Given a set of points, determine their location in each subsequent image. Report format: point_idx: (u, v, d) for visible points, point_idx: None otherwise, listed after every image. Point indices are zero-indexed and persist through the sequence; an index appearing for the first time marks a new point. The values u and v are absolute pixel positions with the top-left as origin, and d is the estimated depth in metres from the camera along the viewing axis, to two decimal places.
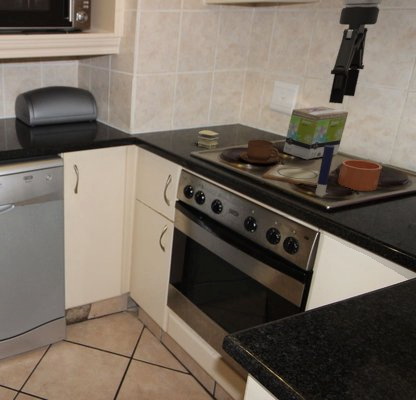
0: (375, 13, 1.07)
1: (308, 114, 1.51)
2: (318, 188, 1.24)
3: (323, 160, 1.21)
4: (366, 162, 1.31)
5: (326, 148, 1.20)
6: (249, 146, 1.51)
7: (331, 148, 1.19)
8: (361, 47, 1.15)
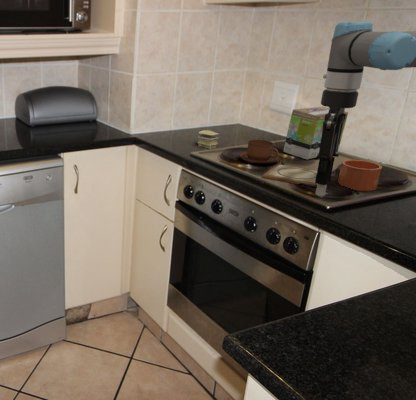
0: (354, 98, 1.12)
1: (308, 114, 1.51)
2: (318, 188, 1.24)
3: None
4: (366, 162, 1.31)
5: None
6: (249, 146, 1.51)
7: None
8: (340, 128, 1.18)
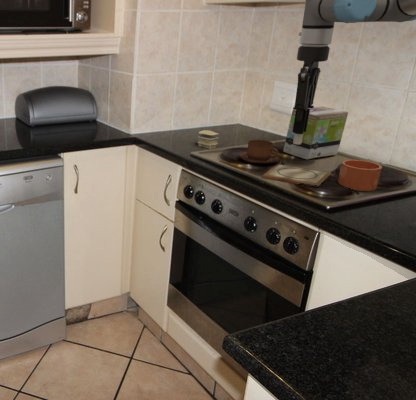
0: (325, 52, 1.25)
1: None
2: (295, 137, 1.36)
3: None
4: (366, 162, 1.31)
5: None
6: (249, 146, 1.51)
7: None
8: (314, 81, 1.31)
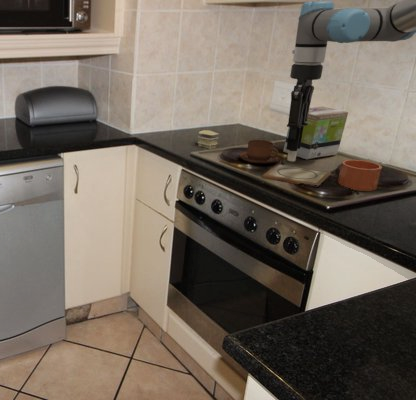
0: (318, 70, 1.25)
1: (308, 114, 1.51)
2: (289, 154, 1.36)
3: None
4: (366, 162, 1.31)
5: None
6: (249, 146, 1.51)
7: None
8: (308, 99, 1.31)
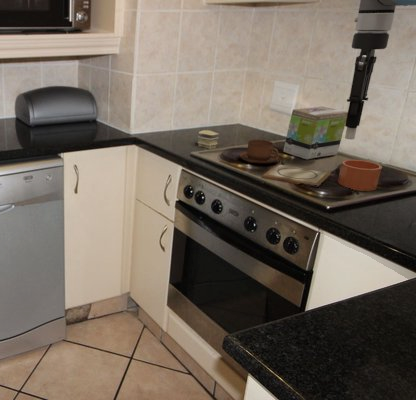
0: (385, 39, 1.16)
1: (308, 114, 1.51)
2: (347, 132, 1.27)
3: None
4: (366, 162, 1.31)
5: None
6: (249, 146, 1.51)
7: None
8: (370, 71, 1.22)
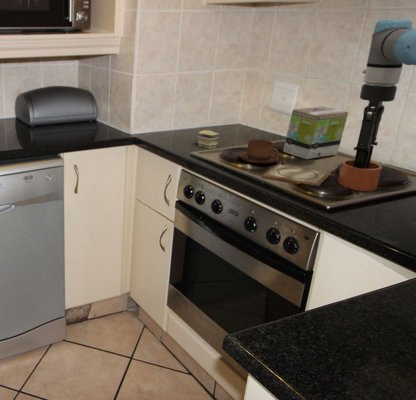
0: (393, 92, 1.18)
1: (308, 114, 1.51)
2: None
3: None
4: None
5: None
6: (249, 146, 1.51)
7: None
8: (378, 121, 1.25)
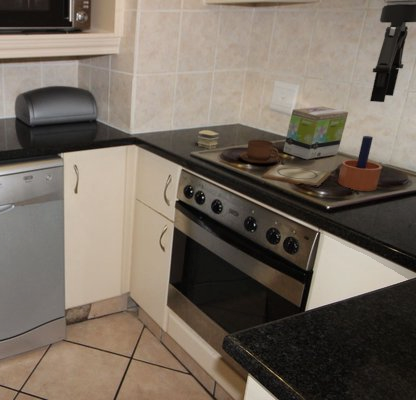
0: None
1: (308, 114, 1.51)
2: None
3: (361, 150, 1.27)
4: None
5: (365, 139, 1.26)
6: (249, 146, 1.51)
7: (370, 138, 1.25)
8: (402, 45, 1.13)
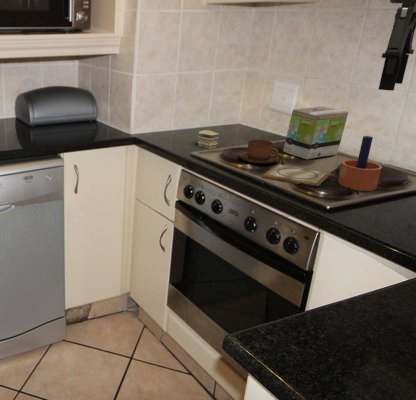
0: None
1: (308, 114, 1.51)
2: None
3: (361, 150, 1.27)
4: None
5: (365, 139, 1.26)
6: (249, 146, 1.51)
7: (370, 138, 1.25)
8: (413, 28, 1.04)
